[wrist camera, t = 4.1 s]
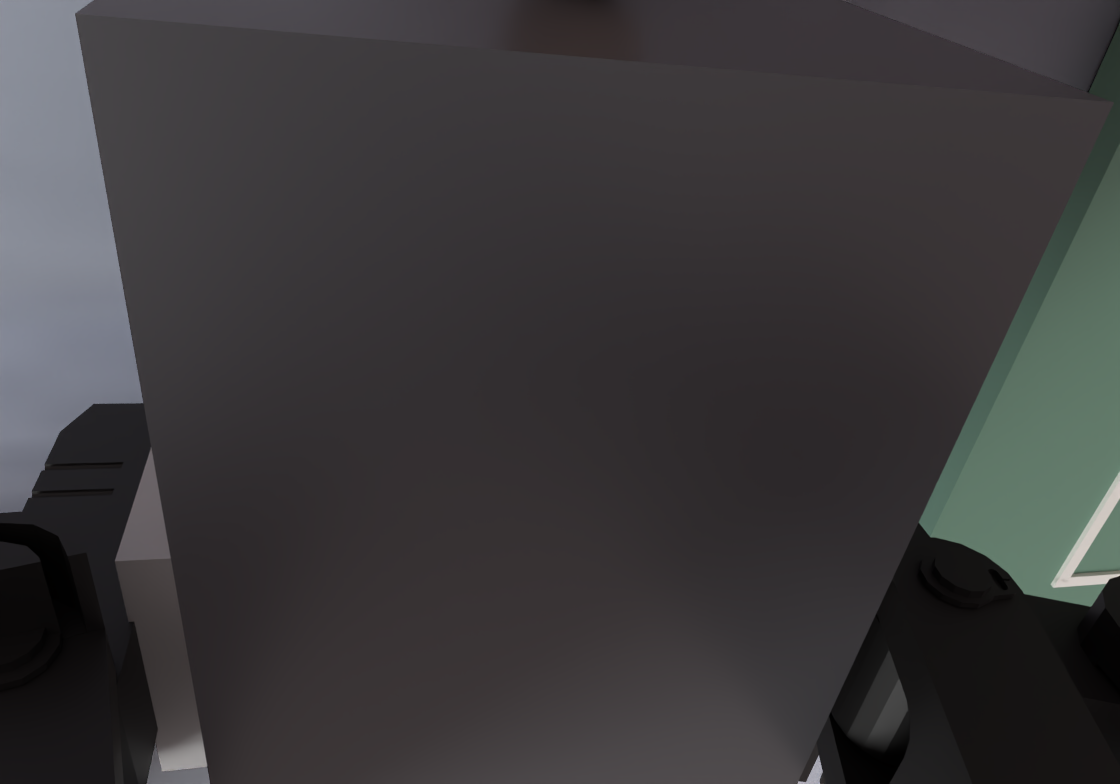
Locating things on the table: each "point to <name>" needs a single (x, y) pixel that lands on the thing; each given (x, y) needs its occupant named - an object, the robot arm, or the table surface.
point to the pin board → (1052, 404)
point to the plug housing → (554, 361)
